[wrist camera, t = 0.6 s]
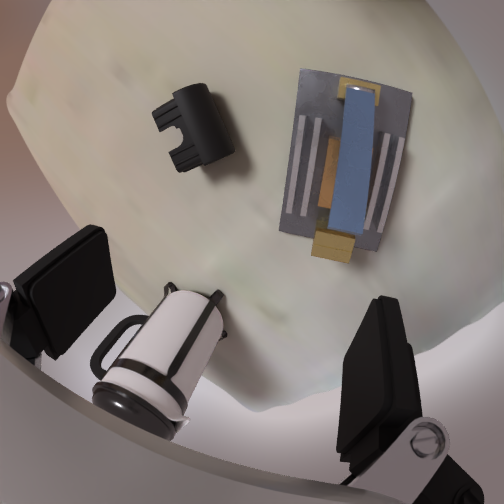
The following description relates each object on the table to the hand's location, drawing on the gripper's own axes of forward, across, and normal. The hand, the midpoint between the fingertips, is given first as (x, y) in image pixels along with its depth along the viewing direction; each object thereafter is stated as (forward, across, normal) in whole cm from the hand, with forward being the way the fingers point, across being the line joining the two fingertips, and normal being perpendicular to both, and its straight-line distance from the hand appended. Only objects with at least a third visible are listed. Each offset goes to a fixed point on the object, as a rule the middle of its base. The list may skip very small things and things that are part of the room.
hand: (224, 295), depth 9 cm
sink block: (+31, -5, 0) cm, 31 cm away
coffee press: (+31, +15, +32) cm, 47 cm away
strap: (+21, -5, -2) cm, 22 cm away
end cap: (+31, +14, -1) cm, 34 cm away
